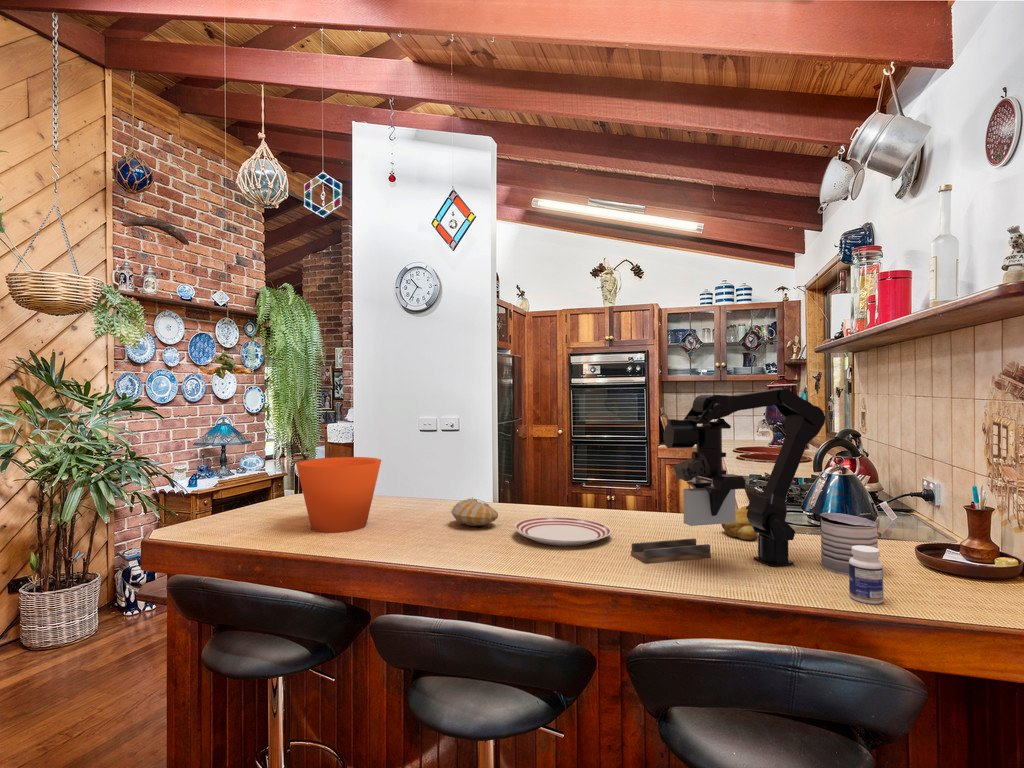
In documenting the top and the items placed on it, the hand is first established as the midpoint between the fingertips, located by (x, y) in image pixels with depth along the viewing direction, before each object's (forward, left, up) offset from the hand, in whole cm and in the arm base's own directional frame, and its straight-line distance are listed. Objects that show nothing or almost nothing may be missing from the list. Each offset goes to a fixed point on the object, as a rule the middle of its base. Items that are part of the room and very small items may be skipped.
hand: (709, 514), depth 130 cm
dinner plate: (+34, +24, -12) cm, 43 cm away
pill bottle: (-27, -16, -12) cm, 34 cm away
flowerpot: (+65, +85, -12) cm, 108 cm away
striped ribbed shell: (+57, +44, -12) cm, 73 cm away
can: (-11, -29, -12) cm, 33 cm away
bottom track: (+9, +5, -12) cm, 16 cm away
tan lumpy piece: (+21, -25, -12) cm, 35 cm away
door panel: (0, 0, -2) cm, 2 cm away
